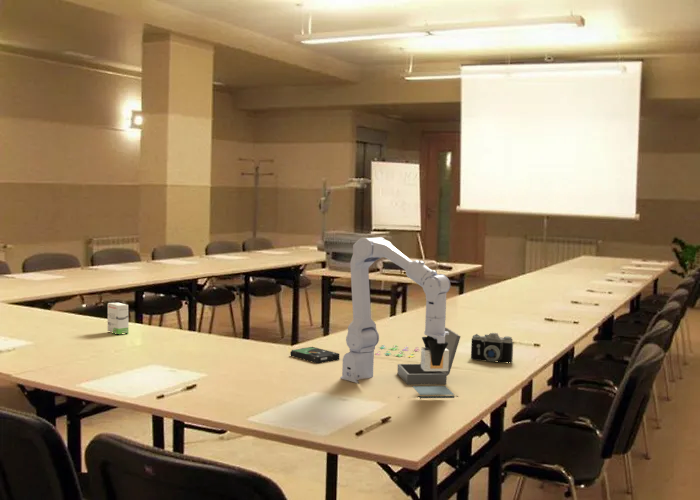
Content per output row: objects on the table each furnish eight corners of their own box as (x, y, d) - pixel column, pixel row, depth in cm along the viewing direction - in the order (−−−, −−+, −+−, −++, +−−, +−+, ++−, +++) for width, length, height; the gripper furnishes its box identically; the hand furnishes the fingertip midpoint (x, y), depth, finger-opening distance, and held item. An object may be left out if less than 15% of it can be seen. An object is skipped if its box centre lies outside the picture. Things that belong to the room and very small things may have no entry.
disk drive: (340, 361, 263) (311, 353, 274) (340, 353, 263) (312, 346, 274) (317, 365, 256) (289, 357, 267) (317, 357, 256) (289, 349, 267)
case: (407, 387, 227) (408, 335, 226) (396, 375, 241) (398, 326, 240) (458, 387, 229) (460, 335, 228) (445, 375, 244) (447, 326, 243)
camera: (467, 360, 267) (468, 332, 267) (472, 357, 273) (473, 329, 273) (509, 365, 261) (510, 336, 261) (513, 362, 267) (514, 333, 267)
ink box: (128, 334, 299) (129, 304, 298) (117, 335, 295) (117, 305, 295) (118, 331, 305) (118, 301, 304) (106, 332, 302) (106, 302, 301)
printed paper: (432, 364, 262) (433, 359, 261) (347, 359, 267) (347, 355, 267) (440, 347, 291) (440, 343, 291) (362, 344, 297) (362, 340, 297)
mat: (420, 398, 215) (420, 394, 215) (412, 389, 225) (412, 386, 225) (454, 398, 216) (454, 394, 216) (444, 389, 226) (445, 385, 226)
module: (424, 371, 217) (425, 350, 217) (420, 367, 222) (421, 347, 222) (448, 371, 218) (449, 350, 218) (444, 367, 223) (444, 347, 223)
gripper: (456, 320, 212) (454, 369, 213) (442, 312, 227) (440, 358, 228) (431, 320, 211) (429, 369, 212) (419, 312, 226) (417, 358, 227)
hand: (433, 363), depth 220 cm, fingers closed on module, 5 cm apart
